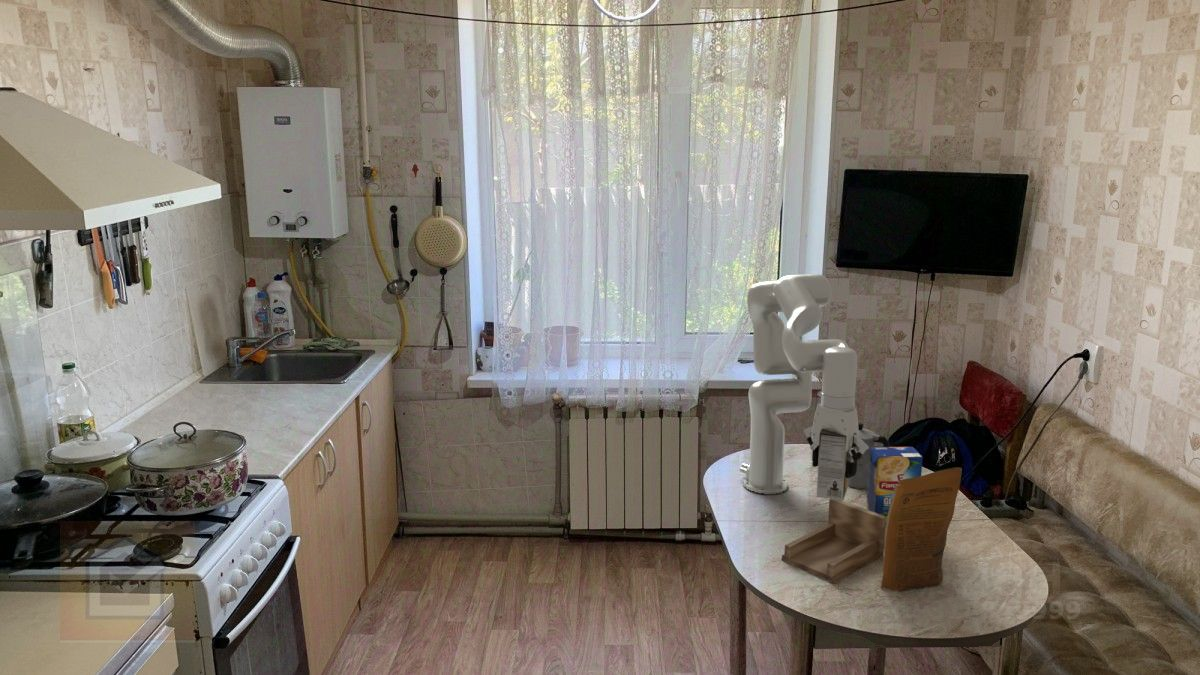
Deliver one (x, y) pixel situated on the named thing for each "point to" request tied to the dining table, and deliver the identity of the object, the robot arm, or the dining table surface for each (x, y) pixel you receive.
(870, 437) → the coffeepot
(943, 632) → the dining table surface
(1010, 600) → the dining table surface
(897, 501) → the pancake mix bag
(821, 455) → the coffee box
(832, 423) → the robot arm
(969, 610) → the dining table surface
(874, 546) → the wooden tray
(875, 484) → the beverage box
